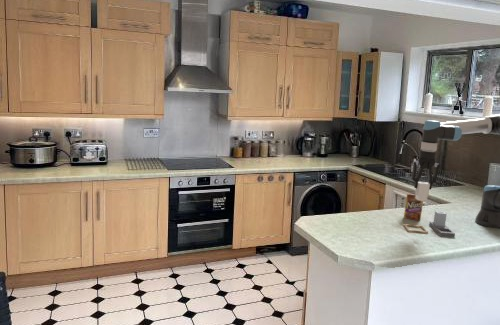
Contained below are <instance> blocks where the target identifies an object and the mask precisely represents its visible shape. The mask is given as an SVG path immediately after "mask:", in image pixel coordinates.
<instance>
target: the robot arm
mask: <svg viewBox="0 0 500 325" xmlns="http://www.w3.org/2000/svg"><path fill="white" fill-rule="evenodd" d="M476 133H478V134H480V133H482V134H484V135H485V134H493V135H499V136H500V113H499V114H494V115H487V116H482V117H481V118H475V119H465V120H455V121H454V120H453V121H446V122H441V121H439V120H432V119H431V120H430V119H427V120H425V121H424V124H423V127H422V137H421V143H420V144H421V145H420V150H419V156H418V157H419V158H418V160H415V161H412V173H411V180H412V181H413V182H414V185H413V186H414V188H415V192H414V194H416V195H418V192H419V185H420V183H419V182H420V180H421V176H422V174H423V171H424V170H425V169H427V178H428V182H427V183H428V184H429V190H428V196H429V195H430V194H429V193H430V191H431V190H432V187H433V184H435V183H437V180H438V175H439V170H440V167H441V164H440V163H437V162H436V156H437V152H436V151H437V150H438V142H439V140H440V141H441V140H442V141H451V142H453V141H459V140H460V139H461V137H462V136H463V135H467V134H469V135H470V134H476ZM418 165H419V168H418ZM433 166H434V170H433V169H432V168H433ZM417 168H418V169H419V170H418V171H417ZM432 171H433V173H432ZM480 204H481V205H480V210H478V213H477V214H476V216H475V220H474V221H475V223H476V224H478V225H481V226H485V227H489V228H493V229H494V228H495V229H500V185H493V184H490V185H489V184H487V185H485V186H484V188H483V191H482V198H481V203H480Z"/></svg>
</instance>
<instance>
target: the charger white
mask: <svg viewBox="0 0 500 325" xmlns="http://www.w3.org/2000/svg"><path fill="white" fill-rule="evenodd" d="M419 183H420V185H419V192H418V195H416V197H415V198H416V199H417V200H419V201H423V202H427V200H428V197H429V195H428V190H429V191H430V189H429V184H428V183H429V182H427V181H426V182H425V181H419Z"/></svg>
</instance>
